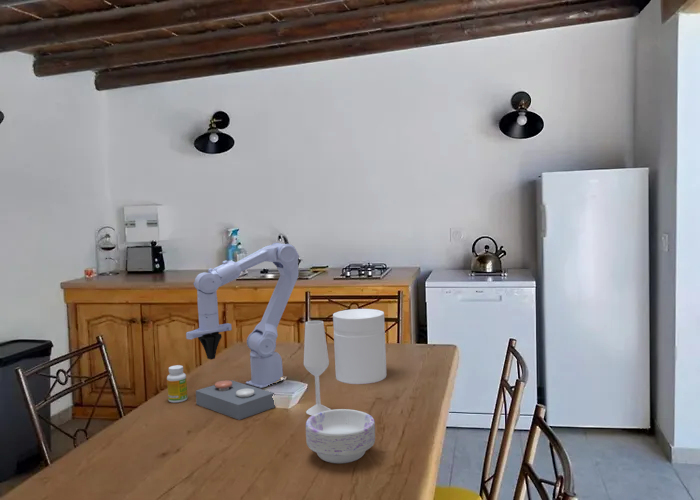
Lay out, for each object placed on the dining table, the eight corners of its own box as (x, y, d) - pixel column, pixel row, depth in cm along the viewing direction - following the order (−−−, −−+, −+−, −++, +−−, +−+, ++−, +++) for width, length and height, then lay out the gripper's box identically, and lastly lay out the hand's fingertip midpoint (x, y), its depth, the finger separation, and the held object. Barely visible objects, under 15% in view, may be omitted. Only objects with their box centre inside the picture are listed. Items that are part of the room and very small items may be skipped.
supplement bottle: (182, 403, 175) (180, 369, 174) (165, 402, 176) (162, 369, 175) (190, 397, 180) (188, 364, 179) (174, 396, 181) (171, 364, 181)
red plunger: (226, 392, 178) (225, 379, 177) (236, 396, 174) (235, 382, 174) (212, 397, 174) (211, 383, 174) (222, 400, 171) (221, 386, 171)
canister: (327, 381, 189) (324, 317, 188) (347, 367, 204) (344, 308, 202) (376, 385, 183) (373, 319, 182) (393, 370, 198) (390, 309, 196)
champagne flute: (313, 405, 168) (309, 319, 166) (335, 408, 165) (331, 320, 163) (301, 413, 162) (296, 324, 160) (323, 416, 159) (319, 325, 157)
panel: (231, 393, 182) (230, 380, 182) (275, 407, 168) (274, 392, 168) (196, 404, 173) (195, 390, 173) (239, 420, 160) (238, 405, 159)
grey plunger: (247, 401, 171) (246, 387, 170) (258, 404, 168) (257, 390, 167) (233, 406, 167) (232, 391, 167) (244, 409, 164) (243, 395, 164)
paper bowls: (385, 463, 131) (384, 426, 130) (316, 475, 126) (314, 437, 126) (363, 437, 145) (362, 404, 145) (300, 447, 141) (298, 413, 140)
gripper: (220, 308, 189) (223, 351, 190) (179, 316, 179) (182, 362, 180) (234, 310, 184) (237, 354, 186) (192, 318, 174) (195, 365, 175)
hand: (211, 358), depth 182 cm, fingers closed
